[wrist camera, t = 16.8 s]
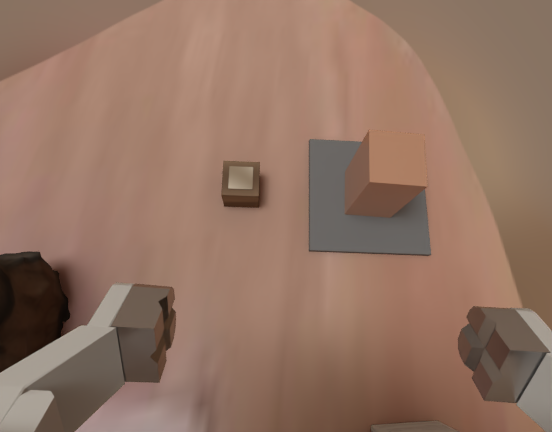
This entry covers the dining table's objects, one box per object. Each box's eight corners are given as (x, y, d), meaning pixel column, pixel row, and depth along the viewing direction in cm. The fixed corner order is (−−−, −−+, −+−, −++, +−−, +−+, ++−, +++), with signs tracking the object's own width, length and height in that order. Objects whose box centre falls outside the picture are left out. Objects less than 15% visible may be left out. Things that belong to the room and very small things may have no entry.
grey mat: (428, 255, 43) (431, 254, 43) (309, 251, 43) (309, 250, 42) (418, 147, 48) (420, 144, 47) (309, 141, 47) (309, 139, 46)
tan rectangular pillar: (389, 217, 44) (427, 186, 34) (344, 214, 44) (369, 181, 34) (388, 175, 46) (424, 134, 36) (344, 171, 45) (369, 129, 36)
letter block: (258, 207, 44) (258, 195, 40) (224, 206, 44) (221, 194, 40) (259, 176, 45) (259, 161, 41) (226, 175, 45) (223, 160, 41)
